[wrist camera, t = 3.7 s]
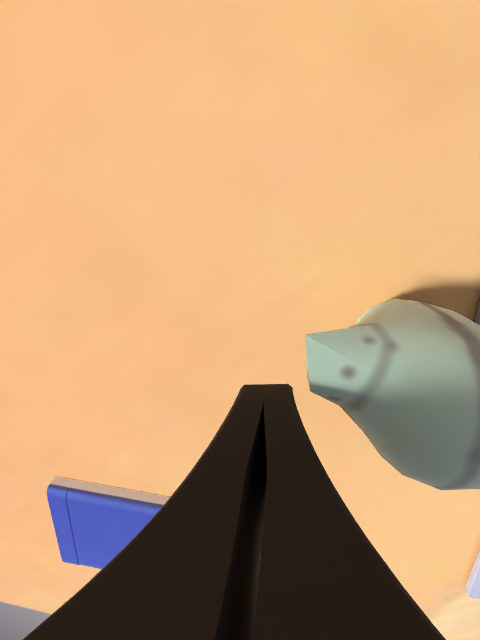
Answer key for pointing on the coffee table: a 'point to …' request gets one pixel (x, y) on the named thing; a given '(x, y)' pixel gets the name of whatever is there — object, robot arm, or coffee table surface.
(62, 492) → the hard drive
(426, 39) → the coffee table surface
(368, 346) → the grey-green rounded piece
